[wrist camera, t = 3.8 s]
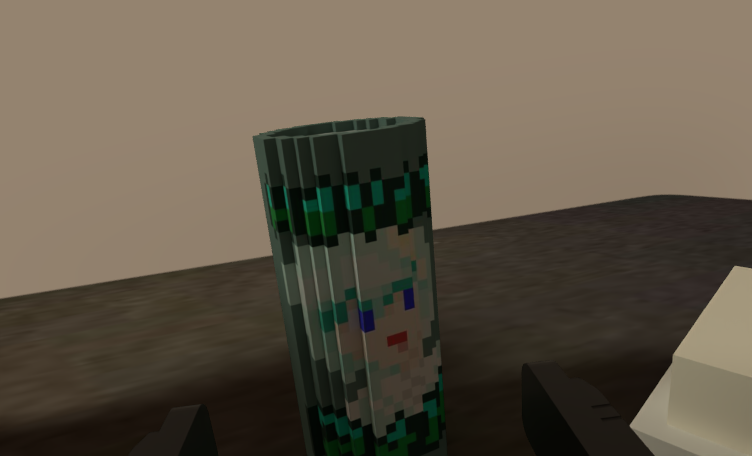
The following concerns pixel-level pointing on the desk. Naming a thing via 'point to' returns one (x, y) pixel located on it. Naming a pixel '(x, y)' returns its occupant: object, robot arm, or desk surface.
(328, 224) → the can
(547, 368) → the robot arm
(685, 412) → the tower base
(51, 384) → the desk surface
